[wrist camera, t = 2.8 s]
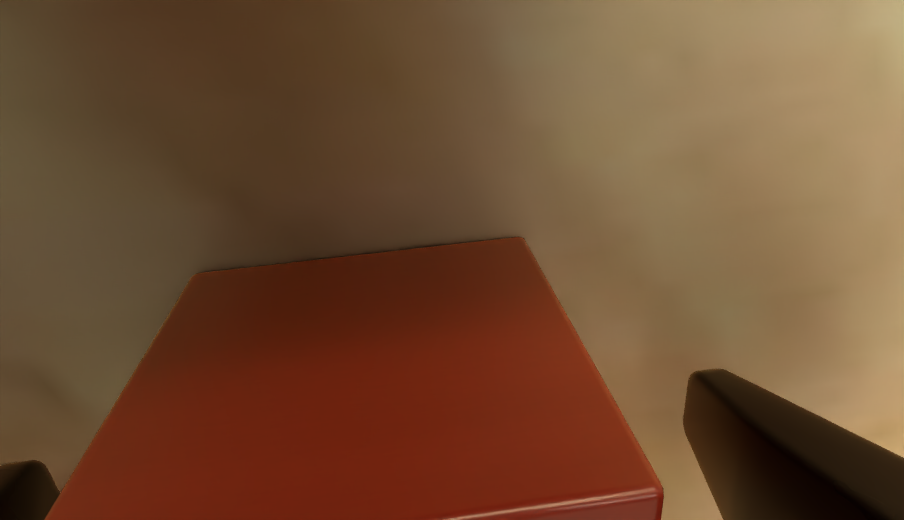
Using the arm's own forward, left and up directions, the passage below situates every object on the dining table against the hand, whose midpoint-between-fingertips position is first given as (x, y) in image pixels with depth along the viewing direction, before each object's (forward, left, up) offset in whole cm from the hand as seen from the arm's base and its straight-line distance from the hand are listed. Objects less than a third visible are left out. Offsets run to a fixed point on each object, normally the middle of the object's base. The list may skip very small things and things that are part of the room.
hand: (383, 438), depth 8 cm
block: (0, 0, -1) cm, 1 cm away
